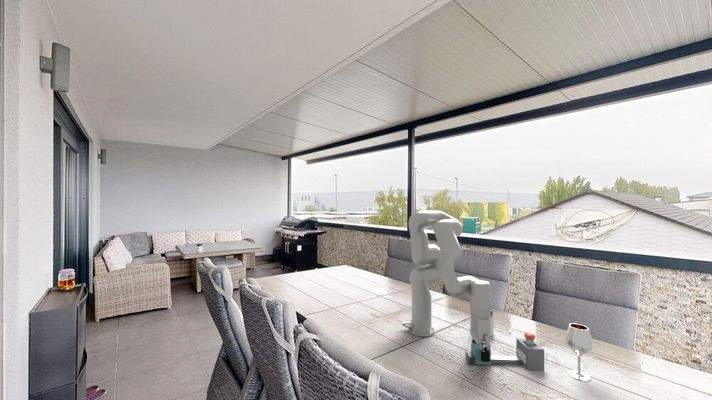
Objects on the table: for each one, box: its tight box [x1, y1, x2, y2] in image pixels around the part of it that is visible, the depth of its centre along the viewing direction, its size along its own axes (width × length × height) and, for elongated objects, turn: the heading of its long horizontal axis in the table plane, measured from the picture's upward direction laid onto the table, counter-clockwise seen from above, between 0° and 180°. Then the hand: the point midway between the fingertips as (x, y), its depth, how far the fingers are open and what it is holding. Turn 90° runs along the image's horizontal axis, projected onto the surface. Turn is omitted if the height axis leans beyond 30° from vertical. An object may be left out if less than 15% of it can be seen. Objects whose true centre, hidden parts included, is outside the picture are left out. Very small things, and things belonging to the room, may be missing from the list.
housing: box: [515, 337, 545, 372], centre depth 116 cm, size 6×9×8 cm
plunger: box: [523, 332, 536, 346], centre depth 116 cm, size 4×4×5 cm
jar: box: [489, 308, 495, 337], centre depth 143 cm, size 9×8×12 cm
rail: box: [464, 350, 524, 366], centre depth 116 cm, size 21×5×3 cm, turn 87°
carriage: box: [470, 342, 492, 366], centre depth 117 cm, size 6×5×6 cm
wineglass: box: [564, 323, 594, 382], centre depth 108 cm, size 8×8×18 cm
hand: (480, 355), depth 117 cm, fingers open, 9 cm apart
